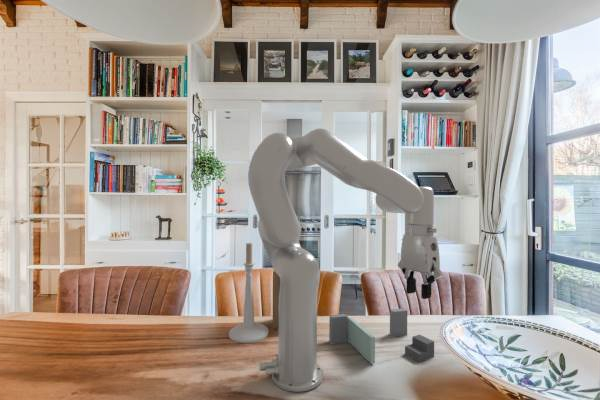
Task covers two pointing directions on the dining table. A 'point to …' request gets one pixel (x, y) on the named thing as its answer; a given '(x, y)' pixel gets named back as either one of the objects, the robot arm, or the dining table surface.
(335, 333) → the door frame
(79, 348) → the dining table surface
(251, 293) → the candlestick
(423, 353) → the dark grey stepped block
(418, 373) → the dining table surface
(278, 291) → the wooden block
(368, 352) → the door
